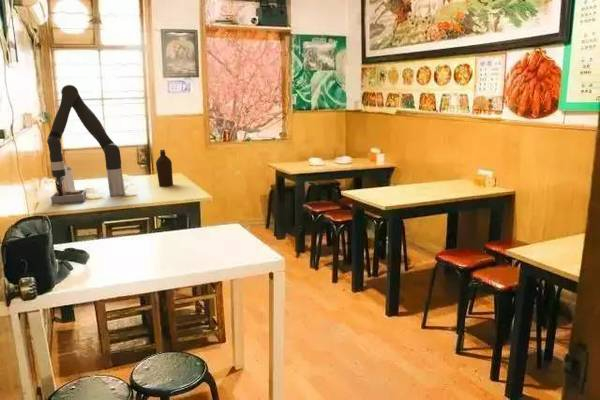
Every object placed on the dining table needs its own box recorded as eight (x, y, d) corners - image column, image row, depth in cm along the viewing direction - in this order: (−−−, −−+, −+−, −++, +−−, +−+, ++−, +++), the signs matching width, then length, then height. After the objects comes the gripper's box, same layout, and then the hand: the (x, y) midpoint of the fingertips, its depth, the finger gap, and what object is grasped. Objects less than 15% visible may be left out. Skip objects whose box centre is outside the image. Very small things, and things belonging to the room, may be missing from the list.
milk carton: (68, 193, 330) (64, 165, 326) (59, 193, 332) (54, 165, 327) (75, 191, 337) (71, 163, 332) (66, 190, 338) (61, 163, 334)
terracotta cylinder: (67, 195, 310) (65, 184, 308) (65, 197, 305) (64, 186, 303) (58, 196, 309) (56, 185, 307) (56, 198, 304) (55, 187, 302)
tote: (87, 197, 317) (86, 189, 316) (83, 202, 304) (82, 194, 303) (56, 199, 313) (55, 192, 312) (52, 205, 300) (50, 197, 299)
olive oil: (162, 187, 337) (158, 151, 331) (155, 185, 345) (151, 150, 339) (176, 185, 344) (173, 149, 337) (169, 183, 352) (166, 148, 345)
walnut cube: (81, 197, 312) (80, 189, 311) (80, 199, 308) (79, 191, 306) (73, 198, 311) (71, 190, 310) (71, 200, 306) (70, 192, 305)
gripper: (62, 170, 297) (66, 197, 301) (66, 166, 310) (70, 192, 314) (48, 171, 295) (53, 198, 299) (53, 167, 308) (57, 193, 312)
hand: (62, 195), depth 307 cm, fingers closed on terracotta cylinder, 5 cm apart
